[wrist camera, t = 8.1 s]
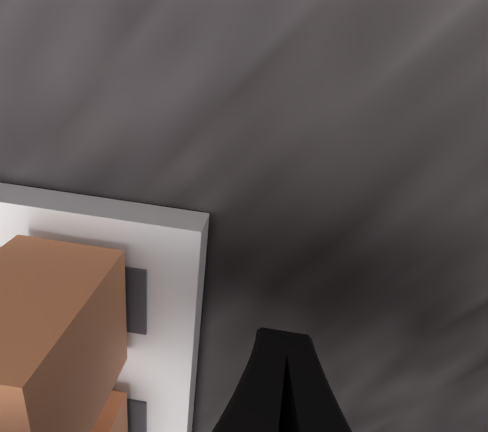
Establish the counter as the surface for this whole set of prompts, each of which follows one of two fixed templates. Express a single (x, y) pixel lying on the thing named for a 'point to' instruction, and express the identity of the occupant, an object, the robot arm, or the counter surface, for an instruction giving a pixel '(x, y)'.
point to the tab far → (113, 414)
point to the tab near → (59, 333)
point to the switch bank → (135, 288)
